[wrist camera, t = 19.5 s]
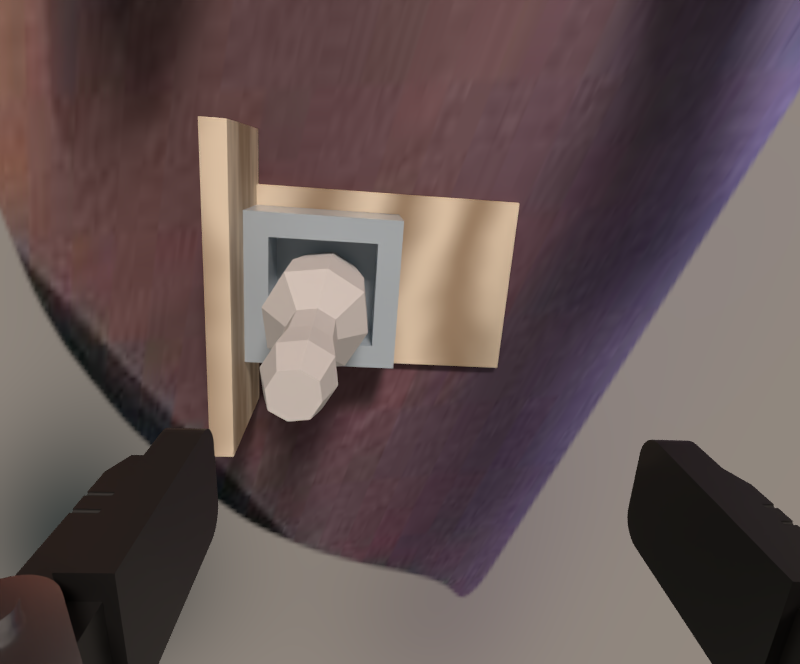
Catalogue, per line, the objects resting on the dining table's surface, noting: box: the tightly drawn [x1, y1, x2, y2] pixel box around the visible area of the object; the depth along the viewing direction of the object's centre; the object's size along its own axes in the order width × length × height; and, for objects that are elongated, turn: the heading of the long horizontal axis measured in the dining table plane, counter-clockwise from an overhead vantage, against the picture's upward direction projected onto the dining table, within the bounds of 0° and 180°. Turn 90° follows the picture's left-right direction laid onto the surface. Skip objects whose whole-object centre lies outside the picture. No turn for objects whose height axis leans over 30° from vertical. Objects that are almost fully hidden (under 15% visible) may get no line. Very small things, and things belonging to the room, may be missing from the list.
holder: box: [243, 205, 404, 368], centre depth 41 cm, size 11×11×5 cm
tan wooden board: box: [198, 116, 520, 457], centre depth 40 cm, size 22×22×10 cm
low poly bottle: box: [259, 252, 368, 422], centre depth 32 cm, size 6×6×22 cm
